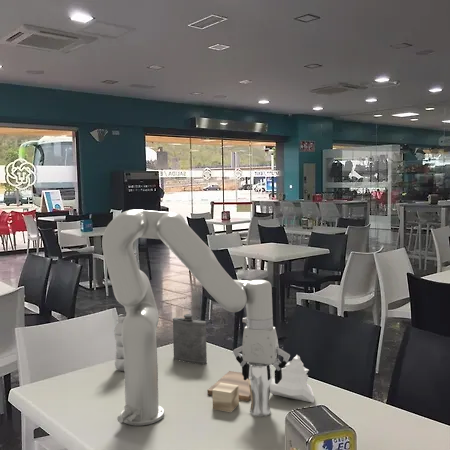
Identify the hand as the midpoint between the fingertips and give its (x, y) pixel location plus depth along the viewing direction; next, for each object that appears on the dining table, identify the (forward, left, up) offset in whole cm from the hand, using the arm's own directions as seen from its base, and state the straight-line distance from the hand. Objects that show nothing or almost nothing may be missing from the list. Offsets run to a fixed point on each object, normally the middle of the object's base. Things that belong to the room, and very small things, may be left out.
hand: (262, 380), depth 151 cm
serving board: (+15, +14, -10) cm, 22 cm away
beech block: (0, +12, -10) cm, 15 cm away
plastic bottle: (+15, +59, -10) cm, 61 cm away
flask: (+32, +41, -10) cm, 52 cm away
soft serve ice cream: (+14, -5, -10) cm, 18 cm away
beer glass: (0, +1, -10) cm, 10 cm away
